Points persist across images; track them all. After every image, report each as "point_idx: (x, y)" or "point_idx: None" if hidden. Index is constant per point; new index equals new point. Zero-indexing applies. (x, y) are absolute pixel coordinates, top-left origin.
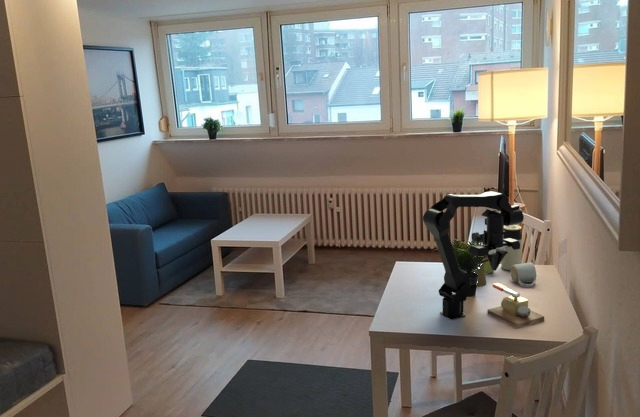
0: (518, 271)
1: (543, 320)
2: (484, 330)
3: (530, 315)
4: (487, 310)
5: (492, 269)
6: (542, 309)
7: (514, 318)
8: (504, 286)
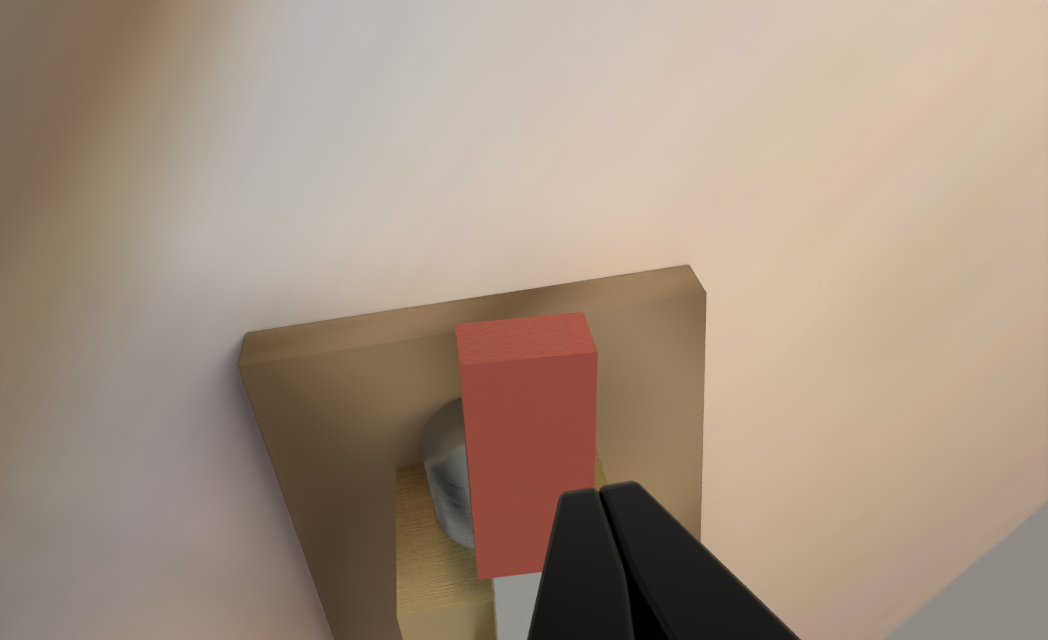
0: None
1: None
2: (28, 635)
3: None
4: (239, 361)
5: (556, 524)
6: (889, 414)
7: None
8: None
